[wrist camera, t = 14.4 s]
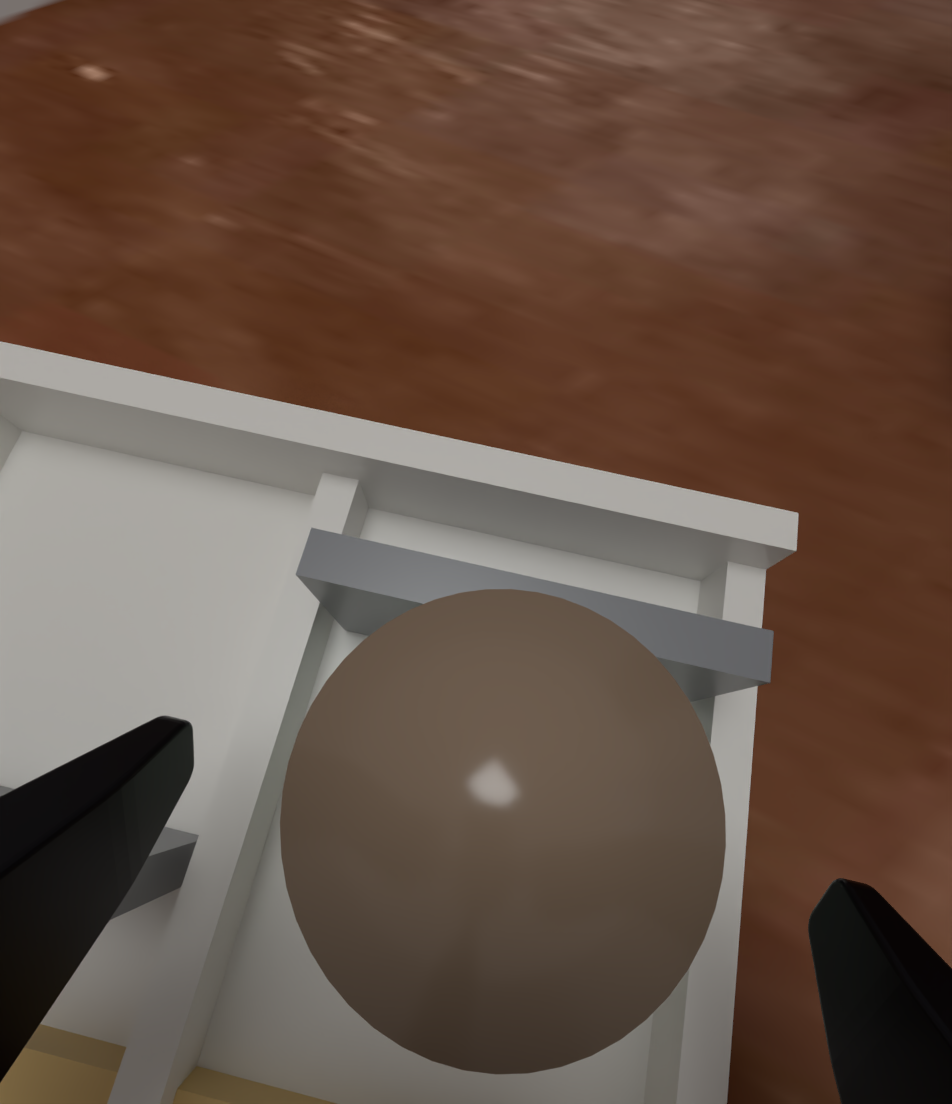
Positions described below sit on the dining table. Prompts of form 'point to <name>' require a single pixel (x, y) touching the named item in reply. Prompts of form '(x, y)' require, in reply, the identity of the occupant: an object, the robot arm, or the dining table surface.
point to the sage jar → (502, 831)
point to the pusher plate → (417, 578)
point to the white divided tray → (298, 713)
